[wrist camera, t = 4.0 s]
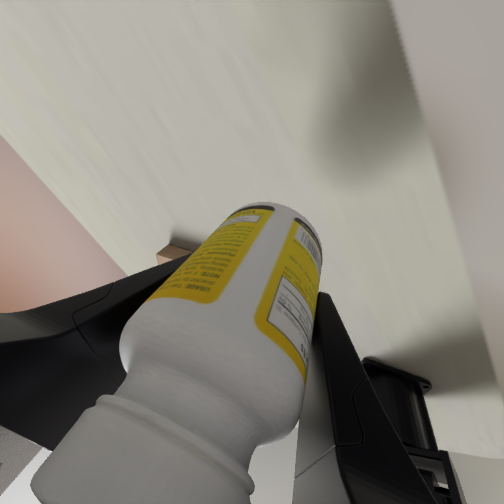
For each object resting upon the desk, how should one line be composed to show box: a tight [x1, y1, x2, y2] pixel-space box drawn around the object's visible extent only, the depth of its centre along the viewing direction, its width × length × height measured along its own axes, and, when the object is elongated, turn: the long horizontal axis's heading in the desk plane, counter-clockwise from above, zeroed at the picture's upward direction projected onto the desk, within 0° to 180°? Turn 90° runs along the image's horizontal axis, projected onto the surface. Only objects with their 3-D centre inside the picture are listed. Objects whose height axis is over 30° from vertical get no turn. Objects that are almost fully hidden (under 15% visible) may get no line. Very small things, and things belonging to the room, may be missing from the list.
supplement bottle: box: [30, 202, 322, 504], centre depth 8 cm, size 5×5×10 cm
